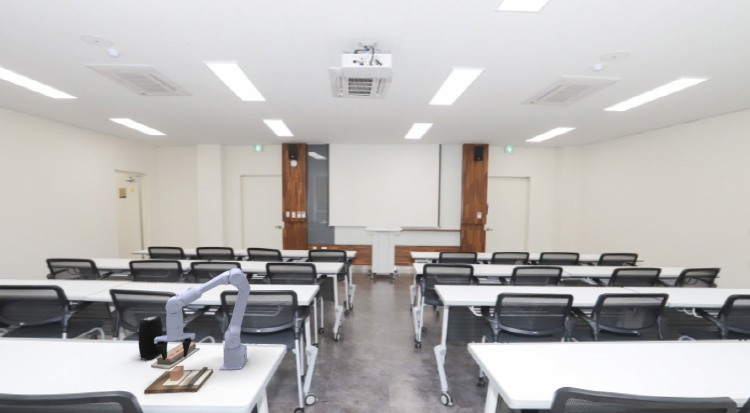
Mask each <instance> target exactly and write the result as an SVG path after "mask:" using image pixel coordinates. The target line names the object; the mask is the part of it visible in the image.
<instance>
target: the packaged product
mask: <svg viewBox="0 0 750 413" xmlns="http://www.w3.org/2000/svg"><path fill="white" fill-rule="evenodd" d="M199 350H200V348H199V347H197V346H196V342H194V341H191V344H190V346H189V349H188V354H187V356H186V357H184V356H183V353H184V350H183V344H182V343H180V344H178V345H176V346H175V347H173V348H172V349H170V350H167V358H166V359H165V360H163V358H162V355H161V354H160V355H158V357H156V360H157V361H155V362H153V363H152V364H150V367H151V368H153V369H161V370H172V369H173V368H174V367H175V366H177V365H179V363H182V362H183V361H185V360H186V359H187V358H189V357H191V355H192V356H193V355H194V354H195V353H196V352H198V351H199Z"/></svg>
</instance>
